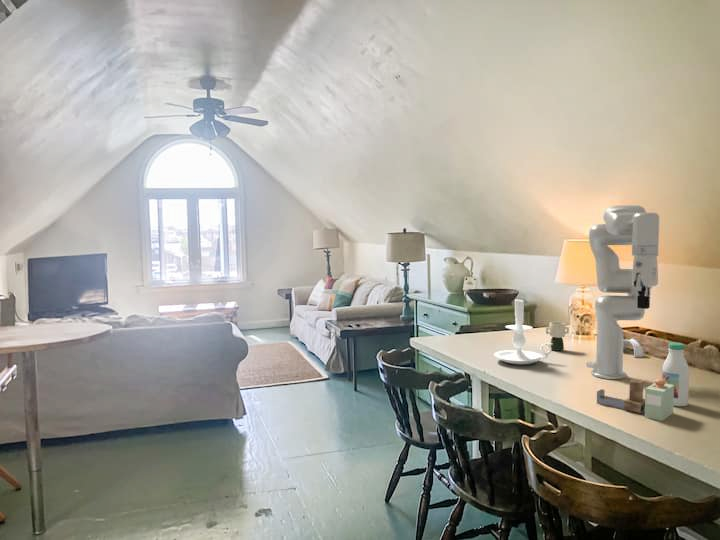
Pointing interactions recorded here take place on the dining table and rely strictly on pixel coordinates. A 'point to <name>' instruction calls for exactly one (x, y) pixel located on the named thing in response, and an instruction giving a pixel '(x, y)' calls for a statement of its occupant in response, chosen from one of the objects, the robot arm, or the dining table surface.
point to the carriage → (635, 397)
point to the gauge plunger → (660, 383)
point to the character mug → (557, 334)
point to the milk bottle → (677, 373)
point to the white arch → (637, 348)
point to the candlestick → (520, 341)
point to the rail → (612, 401)
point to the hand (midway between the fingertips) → (643, 308)
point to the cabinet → (659, 402)
